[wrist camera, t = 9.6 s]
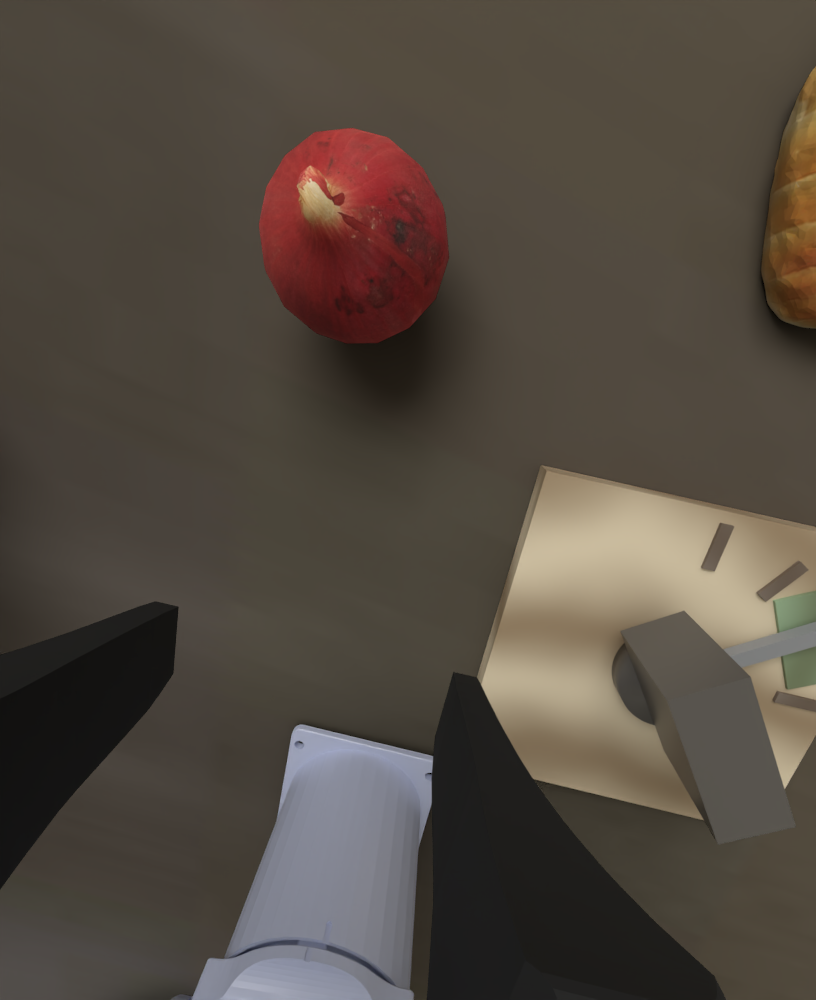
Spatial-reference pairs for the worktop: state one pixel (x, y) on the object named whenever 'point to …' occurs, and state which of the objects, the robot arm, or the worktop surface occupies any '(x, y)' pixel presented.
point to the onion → (353, 236)
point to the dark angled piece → (710, 718)
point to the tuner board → (633, 601)
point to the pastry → (794, 218)
